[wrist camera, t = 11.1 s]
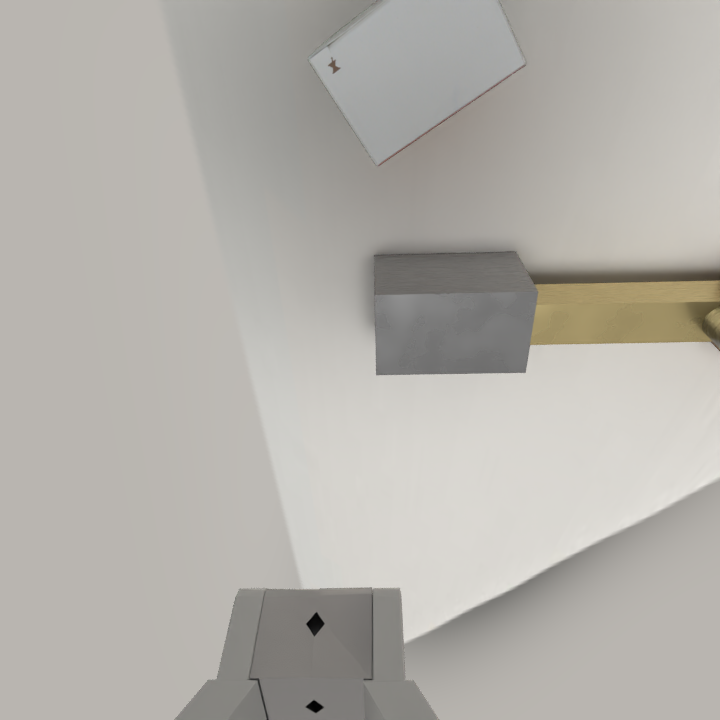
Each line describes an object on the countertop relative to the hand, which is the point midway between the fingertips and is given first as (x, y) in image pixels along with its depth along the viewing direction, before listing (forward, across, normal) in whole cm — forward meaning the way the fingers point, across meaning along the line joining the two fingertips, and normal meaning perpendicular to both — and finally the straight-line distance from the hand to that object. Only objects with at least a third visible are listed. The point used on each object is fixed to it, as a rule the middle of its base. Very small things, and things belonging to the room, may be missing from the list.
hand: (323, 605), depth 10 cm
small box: (+31, -3, -7) cm, 32 cm away
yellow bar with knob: (+29, -21, +9) cm, 37 cm away
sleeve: (+31, -6, +9) cm, 33 cm away
